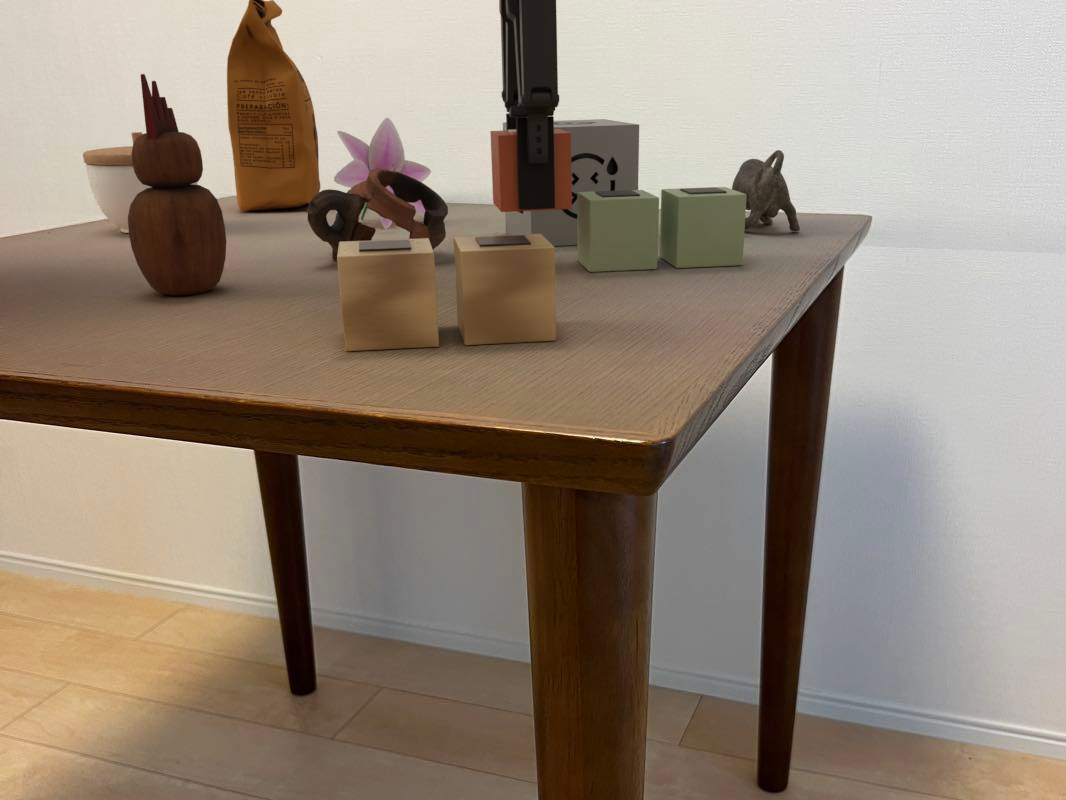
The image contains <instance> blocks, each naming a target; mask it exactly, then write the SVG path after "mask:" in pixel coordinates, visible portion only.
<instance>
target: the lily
mask: <svg viewBox="0 0 1066 800" xmlns="http://www.w3.org/2000/svg"><path fill="white" fill-rule="evenodd" d="M337 135H338V137H339V138H340V140H341V142H342V143H343V145H344V147H345V148H346V150H347V151H348V153H349V154H350V156H351V158H352V160H351V161H349V162H348V163H347V164H345V166H343V167H342V168H341V169H340V170H338V172H337V173H336V174H335V176H334V177H333V182H335V183H336V184H337V185H340V186H343V187H346V188H349V189H351V188H352V187H353V186H354V185H357V184H359V183H361V182H363V181H366V180H367V178H368V174H369V172H370V171H371V170H372V169H377V168H382V169H388V170H391V171H396V172H399V173H402V174H405V175H407V176H409V177H412V178H414V179H416V180H418V181H420V182H422V183H423V182H424V181H425V180H426V179H427V178H428V177H430V175H431V173H432V170H431V168H429V167H427V166H425V165H424V164H421V163H419V162H415V161H412V160H408V159H406V157H405V149H404V146H403V142H402V140H401V137H400V135H399V132H398V130H397V128H396V126H395V123H394V122H393V121H392V119H390V118H389V117H385V118H384V119H383V120H382V121H381V123H380V124H379V126H378V127H377V129H376V130H375V132H374V134H373V136H372V137H371V141H370V143H369V144H367V143H366V142H365V141H363V140H362V139H360V138H358V137H357V136H354V135H352V134H349V133H348V132H345V131H341V130H337ZM385 188H386V189H388V190H389V191H390V192H391V193H393V194H394V192H393V190H392V188H391V187H390V186H387V187H385ZM368 203H369V202H366V203H365V205H364V208H363V209H362V212H361V216H360V220H361V221H364V218H365V215H366V213H367V210H368V208H367V207H366V206H367V204H368ZM407 203H408V202H407ZM409 204H411V205H413V206H414V207H415V210H416V213H415V214H419V215H421V216H423V217H424V214H425V209H424V206H423V204H422V202H421V200H419V201H417V202H415V203H409ZM378 217H379V219H380V222H381V225H382V226H383V228H384V229H385V230H387V229H389V227H390V226H391V225H392V223H394V222H393V221H391V220H389V219H386V218H383V217H381V216H380V215H379V214H378Z"/></svg>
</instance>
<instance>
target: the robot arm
mask: <svg viewBox="0 0 1066 800" xmlns="http://www.w3.org/2000/svg"><path fill="white" fill-rule="evenodd" d="M498 3H499V4H498V6H499V7H498V11H499V15H500V42H501V75H502V77H501V78H502V81H501V82H502V91H501V98H502V101H503V103H504V108H505V110H506V112H507V113H505V116H506V117H505V122H506V125H507V130H512V129H516V135H517V169H518V204H519V209H520V210H523V209H548V208H555V174H554V121H555V119H554V115H555V111H556V108H558V106H559V103H560V94H559V79H558V78H559V77H558V75H559V74H558V26H557V24H558V23H557V0H498Z"/></svg>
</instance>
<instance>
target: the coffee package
mask: <svg viewBox="0 0 1066 800" xmlns="http://www.w3.org/2000/svg"><path fill="white" fill-rule="evenodd" d="M247 4H248V5H247V6H246V10H245V11H244V14H243V16H242V17H241V21H240V22H239V23H238V24H239V25H238V27H237V30H236V32H235V34H234V36H233V38H232V40H231V44H230V48H229V51H228V55H227V60H226V61H227V64H226V100H227V101H226V104H227V106H226V107H227V125H228V133H229V138H230V144H231V149H232V160H233V169H234V170H233V171H234V183H235V193H236V200H237V206H238V209H239V210H240V211H247V212H253V211H271V210H286V209H296V208H299V207H301V206H302V207H303V206H304V205H307V204H308V205H309V203H310V202H311V200H312V198H313V197H314V196H315V195H316V194H318V193H319V192H321V191H320V190H321V186H322V185H321V181H320V168H319V166H320V165H319V137H318V130H317V124H316V115H315V109H314V106H313V105H314V103H313V101H312V97H311V94H310V91H309V88H308V85H307V83H306V81H305V78H304V77H303V75H302V73H301V71H300V70H299V68H298V67H297V65H296V63H295V62H294V61H293V59H291V57H290V56H289V55H288V54H287V53H286V52H285V51H284V47H283V44H282V42H281V40H280V37H279V35H278V32H277V29H276V28H275V27H274V26H273V25H272V20H274V19H276V18H279V17H281V16H282V14H283V9H282V8H281V7H280V5H278V4H277V2H276V1H274V0H248V2H247Z"/></svg>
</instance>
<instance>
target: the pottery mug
mask: <svg viewBox="0 0 1066 800" xmlns="http://www.w3.org/2000/svg"><path fill="white" fill-rule="evenodd" d="M387 186H390V187H391V188H392V190H393V192H394V194H393V193H391V192H390V191H389V190H388V189H386V188H385V187H387ZM419 200H421V202H422V204H423V206H424V209H425V214H424V216H423V221H422V222H423V223H422V222H420V221H417V220H415V219H414V218H415V216H416V214H417V213H416V210H415V207H414V206H413V205H411V204H409V203H415V202H417V201H419ZM366 202H369V203H368V204H367V206H366V207H367V210H371V211H372V212H375V213H377V215H378V216H379V215H380V216H381V217H383V218H386V219H389V220H391V221H393V222H392V223H393V224H395V225H396V226H397V227H398V228H401V229H403V230H405V231H407V232H408V233H409V238H408V239H421V238H428V239H429V241H430V243H431V246H432V249H433V250H435V248H438V246H439V245H440V244H442V243H443V241H444V240H445V238H446V236H447V231H446V225H445V218H447V216H448V215H449V207H448V205H447V204H446V201H445V200H444V199H443V198H442V197H441V195H440V194H438V193H437V192H436V191H434V189H432V188H431V187H429V186H428V185H426V184H425V183H423V181H422V182H420V181H418V180H416V179H414V178H412V177H409V176H407V175H405V174H402V173H399V172H396V171H391V170H388V169H382V168H377V169H372V170H371V171H370V172H369V174H368V178H367V180H366V181H363V182H361V183H359V184H357V185H354V186H353V187H352V188H349V189H348V190H347V192H345V191H342V190H338V189H331V188H328V189H322V190H321V191H319V193H318V194H316V195H315V196H314V197H313V198H312V200H311V202H310V203H308V207H307V209H306V211H307V221H308V224H309V227H310V228H311V230H312V232H313V233H314V234H315V236H316V237H317V238H318V239H320V240H321V241H322V242H325V243H328V245H329V246H330V247H331V250H332V251H331V259H332V260H334V261H337V254H338V246H339V242H345V241H371V240H373V237H374V236H375V233H376V232H377V229H376V227H373V226H368V225H367V224H363V223H362V222H360V221H359V220H360V215H361V214H362V212H363V210H364V208H365V205H366ZM407 202H408V203H407ZM331 211H336V214H335V219H334V221H333V224H332V225H330V224H329V221H328V217H327V216H328V213H329V212H331Z"/></svg>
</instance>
